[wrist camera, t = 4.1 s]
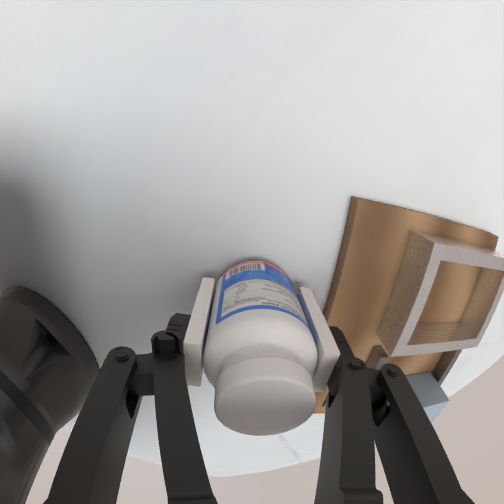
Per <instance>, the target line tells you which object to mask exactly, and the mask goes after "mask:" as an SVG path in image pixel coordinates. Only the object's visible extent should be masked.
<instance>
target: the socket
mask: <svg viewBox="0 0 504 504" xmlns="http://www.w3.org/2000/svg"><path fill="white" fill-rule="evenodd" d="M441 260H442V261H448V262H455V263H461V264H467V265H473V266H478V267H481V270H480V273H479V275H478V278H477V281H476V284H475V286H474V289H473V292H472V294H471V297H470V299H469V302H468V304H467V306H466V309H465V311H464V313H463V315H462V318H461V320H460V322H433V323H417V322H418V320H419V318H420V315H421V313H422V310H423V308H424V306H425V303H426V301H427V298H428V295H429V293H430V290H431V287H432V285H433V282H434V279H435V276H436V273H437V270H438V267H439V264H440V261H441ZM503 290H504V255H502V254H501V253H499V252H497V251H495V250H493V249H490V248H487V247H483V246H479V245H475V244H471V243H467V242H463V241H459V240H455V239H451V238H447V237H442V236H438V235H433V234H429V233H425V232H420V231H415V230H411V229H410V233H409V236H408V240H407V244H406V248H405V251H404V255H403V258H402V262H401V265H400V268H399V271H398V275H397V278H396V281H395V284H394V287H393V290H392V293H391V295H390V298H389V301H388V304H387V306H386V309H385V312H384V314H383V317H382V319H381V322H380V324H379V327H378V329H377V332H376V334H377V336H378V337H379V339H380V340H381V342H382V344H383V345H384V347H385V348H386V350H387V352H388V353H389V355H390V356H391V357H395V356H408V355H419V354H429V353H437V352H445V351H452V350H459V349H466V348H472V347H477V346H478V344H479V342H480V340H481V339H482V337H483V335H484V333H485V331H486V329H487V327H488V325H489V323H490V320H491V318H492V316H493V314H494V312H495V309H496V307H497V305H498V302H499V300H500V298H501V295H502V293H503Z"/></svg>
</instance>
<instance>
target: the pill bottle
mask: <svg viewBox="0 0 504 504" xmlns="http://www.w3.org/2000/svg"><path fill="white" fill-rule="evenodd" d="M316 365H317V348H316V345H315V342H314V339H313V336H312V333H311V331H310V328H309V326H308V323H307V320H306V318H305V315H304V313H303V310H302V308H301V305H300V303H299V300H298V297H297V295H296V292H295V289H294V287H293V284H292V282H291V281H290V279H289V277H288V276H287V275H286V274H285V273H284V272H283V271H282V270H281V269H280V268H278V267H277V266H275V265H273V264H271V263H267V262H264V261H247V262H243V263H240V264H237V265H235V266H233V267H231V268H230V269H228V270H227V271H226V272H225V273H224V274H223V275H222V276H221V278H220V279H219V281H218V283H217V285H216V288H215V291H214V295H213V300H212V306H211V312H210V317H209V323H208V329H207V334H206V340H205V345H204V352H203V367H204V372H205V374H206V376H207V378H208V380H209V382H210V383H211V384H212V386H213V387H214V388H215V400H214V410H215V414H216V416H217V418H218V420H219V421H220V422H221V423H222V424H223V425H225V426H226V427H228V428H229V429H232V430H234V431H236V432H239V433H243V434H248V435H262V436H264V435H274V434H279V433H283V432H286V431H289V430H291V429H294V428H296V427H298V426H299V425H301V424H302V423H304V422H305V421H307V419H308V418H309V417H310V416H311V415H312V413H313V412H314V410H315V407H316V396H315V392H314V388H313V382H312V378H311V377H312V376H313V374H314V371H315V369H316Z"/></svg>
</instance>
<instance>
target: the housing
mask: <svg viewBox="0 0 504 504" xmlns="http://www.w3.org/2000/svg"><path fill="white" fill-rule="evenodd" d="M406 378H407V379H408V381H409V383H410V385H411V387H412V388H413V390H414V392H415V394H416V396H417V397H418V399H419V401H420V403H421V405H422V407H423V409H424V410H425V412H426V414H427V416H428V418H429V420H430V422H431V423H432V422H433V421H434V419H435V418H436V417H437V416H438V415H439V413H440V412H441V411H442V409H443V408H444V407H445V406H446V404H447V403H448V401H449V399H448V397H447V396H446V394H445V393H444V391H443V390H442V388H441V387H440V385H439V384H438V382H437V381H436V379H435V378H434V376H433V375H432V373H431V372H428V373H421V374H414V375H407V376H406ZM388 404H389V402H388ZM389 406H390V405H389ZM374 444H375V441H374Z"/></svg>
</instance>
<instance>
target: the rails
mask: <svg viewBox="0 0 504 504" xmlns="http://www.w3.org/2000/svg"><path fill="white" fill-rule="evenodd" d="M461 351H462V349H459V350H452V351H445V352H443V354H442V356H441V358H440V359H439V361H438V363H437V365H436V366H435V368H434V370H433V371H432V375H433V376H434V378H435V379H436V381H437V382H438V384H439V385H441V384H442V382H443V380H444V379H445V377H446V376H447V374H448V373H449V371H450V369H451V368H452V366H453V365H454V363H455V361H456V360H457V358H458V356H459V354H460V353H461ZM388 358H389V357H388V355H387V353H386V352H385V350H384V348H383V347H382V345H374V346H373V348H372V350H371V352H370V355H369V357H368V359H367V361H366V363H365V364H366V366H367V367H368V368H372V369H377V370H380V369H381V367H382V366H383V365H384V364H386V362H387V360H388Z"/></svg>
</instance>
